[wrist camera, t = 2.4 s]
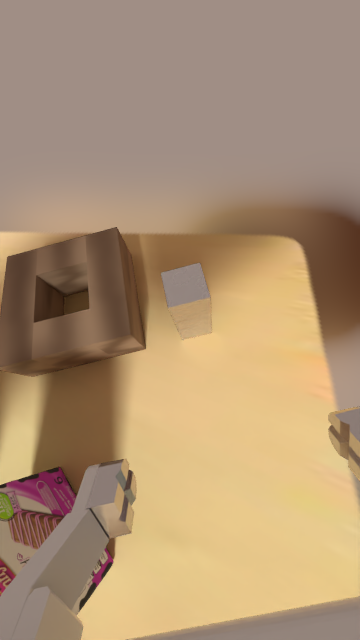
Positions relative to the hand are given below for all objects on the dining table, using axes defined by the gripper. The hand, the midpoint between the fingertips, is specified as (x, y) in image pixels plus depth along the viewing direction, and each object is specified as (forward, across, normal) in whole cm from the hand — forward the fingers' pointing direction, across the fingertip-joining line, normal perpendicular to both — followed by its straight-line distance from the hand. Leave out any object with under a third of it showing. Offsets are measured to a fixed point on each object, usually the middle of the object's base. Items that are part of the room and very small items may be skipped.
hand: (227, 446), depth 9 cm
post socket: (+26, -15, 0) cm, 30 cm away
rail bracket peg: (+22, 0, -4) cm, 22 cm away
